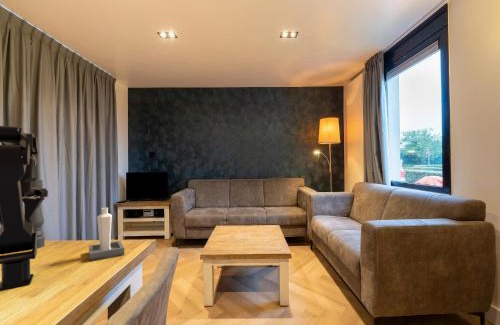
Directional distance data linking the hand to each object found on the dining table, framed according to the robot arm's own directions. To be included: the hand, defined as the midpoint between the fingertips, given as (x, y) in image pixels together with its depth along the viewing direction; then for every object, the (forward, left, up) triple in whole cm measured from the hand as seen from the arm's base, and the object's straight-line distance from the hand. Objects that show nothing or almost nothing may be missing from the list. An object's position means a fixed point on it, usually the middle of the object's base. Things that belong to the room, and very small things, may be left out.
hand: (16, 224), depth 83 cm
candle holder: (+21, -2, -13) cm, 24 cm away
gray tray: (-3, -24, -13) cm, 27 cm away
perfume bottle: (-3, -24, -12) cm, 27 cm away
